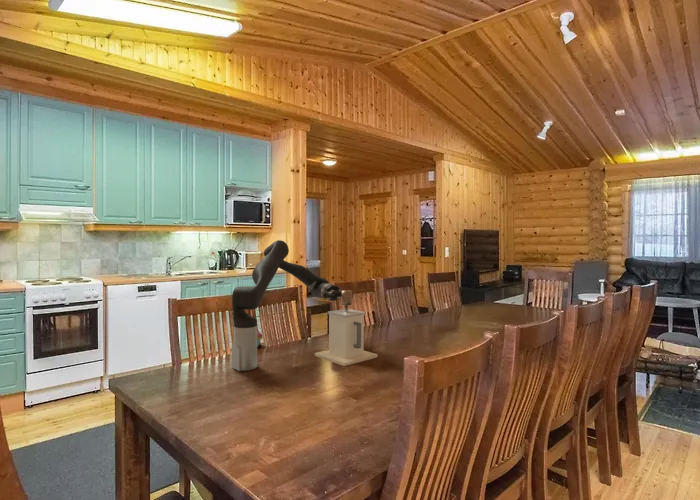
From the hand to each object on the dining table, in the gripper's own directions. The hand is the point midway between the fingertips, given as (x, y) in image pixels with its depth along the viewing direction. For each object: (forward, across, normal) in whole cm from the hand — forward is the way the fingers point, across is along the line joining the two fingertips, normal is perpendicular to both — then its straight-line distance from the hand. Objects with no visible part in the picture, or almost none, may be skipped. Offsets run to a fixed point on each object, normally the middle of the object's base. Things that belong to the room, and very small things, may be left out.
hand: (342, 296), depth 202 cm
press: (+5, 0, +26) cm, 27 cm away
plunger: (+5, 0, +20) cm, 21 cm away
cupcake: (-28, -36, +27) cm, 52 cm away
